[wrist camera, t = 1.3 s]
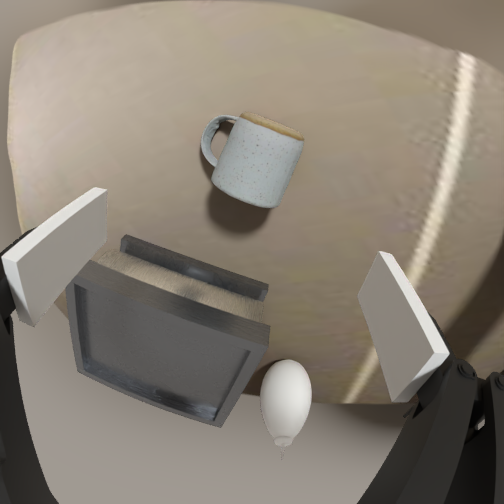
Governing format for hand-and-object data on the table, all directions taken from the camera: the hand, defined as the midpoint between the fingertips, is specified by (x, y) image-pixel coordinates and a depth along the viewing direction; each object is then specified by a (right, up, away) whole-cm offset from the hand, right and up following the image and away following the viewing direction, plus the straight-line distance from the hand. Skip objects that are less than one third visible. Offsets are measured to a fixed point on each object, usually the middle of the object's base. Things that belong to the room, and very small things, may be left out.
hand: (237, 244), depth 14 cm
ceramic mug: (0, +11, +19) cm, 22 cm away
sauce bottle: (+7, -19, +34) cm, 40 cm away
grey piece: (-9, -5, +29) cm, 31 cm away
